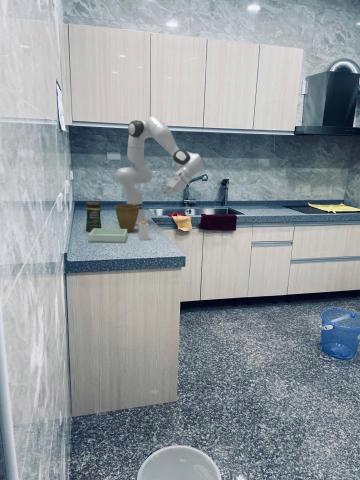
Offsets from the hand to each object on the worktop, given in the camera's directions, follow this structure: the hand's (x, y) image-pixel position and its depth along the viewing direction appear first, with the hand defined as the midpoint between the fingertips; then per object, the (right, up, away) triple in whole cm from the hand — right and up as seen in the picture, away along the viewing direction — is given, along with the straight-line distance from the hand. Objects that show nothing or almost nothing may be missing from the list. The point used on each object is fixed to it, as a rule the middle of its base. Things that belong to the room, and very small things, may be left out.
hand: (165, 194), depth 206 cm
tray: (-33, -26, +1) cm, 42 cm away
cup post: (-13, -26, +3) cm, 29 cm away
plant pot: (-25, -21, +23) cm, 40 cm away
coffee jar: (-46, -21, +20) cm, 54 cm away
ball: (-13, -17, +1) cm, 21 cm away
